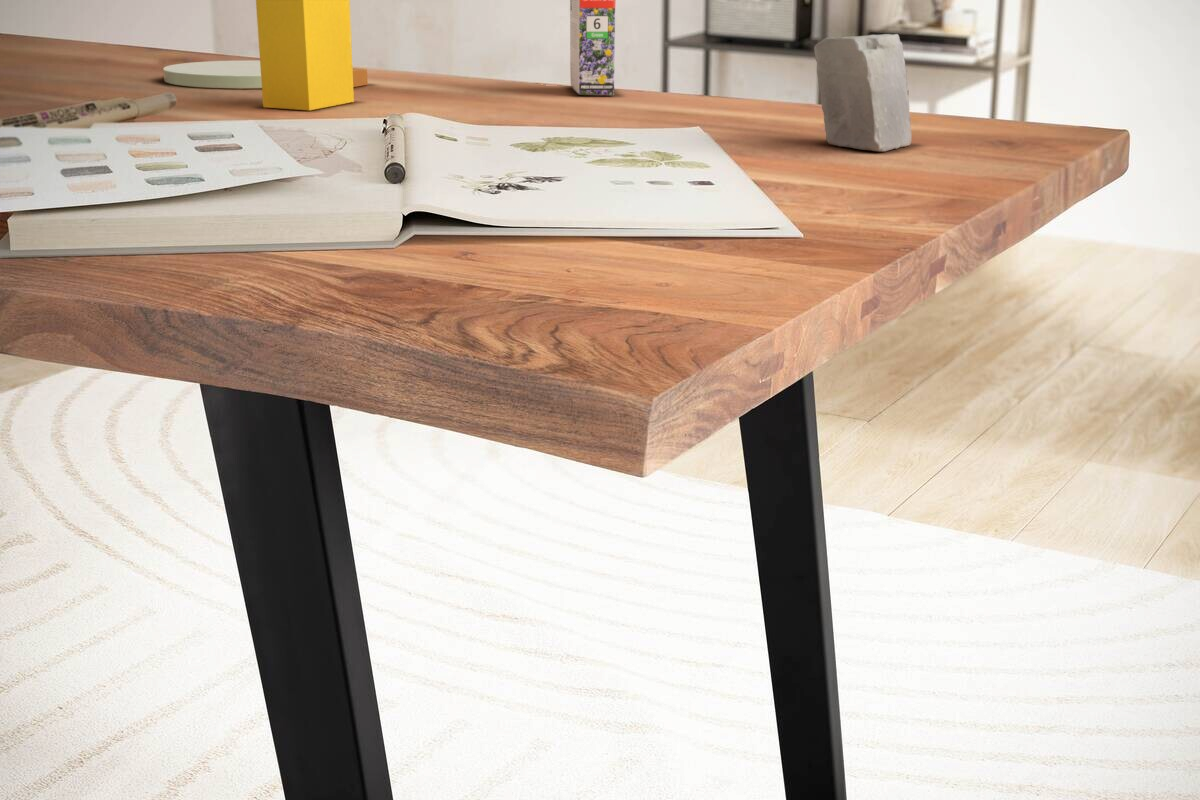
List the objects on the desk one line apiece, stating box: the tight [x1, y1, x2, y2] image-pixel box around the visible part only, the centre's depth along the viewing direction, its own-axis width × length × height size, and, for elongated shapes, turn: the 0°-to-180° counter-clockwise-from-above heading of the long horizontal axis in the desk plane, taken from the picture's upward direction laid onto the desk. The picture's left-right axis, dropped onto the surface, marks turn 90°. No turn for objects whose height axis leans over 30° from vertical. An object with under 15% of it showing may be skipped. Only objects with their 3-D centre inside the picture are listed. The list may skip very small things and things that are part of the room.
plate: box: [162, 59, 262, 90], centre depth 126 cm, size 16×16×1 cm
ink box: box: [569, 0, 616, 96], centre depth 119 cm, size 4×8×15 cm, turn 7°
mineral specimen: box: [813, 32, 913, 152], centre depth 91 cm, size 7×9×8 cm
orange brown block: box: [352, 67, 368, 88], centre depth 122 cm, size 3×4×2 cm
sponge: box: [255, 0, 355, 112], centre depth 106 cm, size 4×7×11 cm, turn 159°
